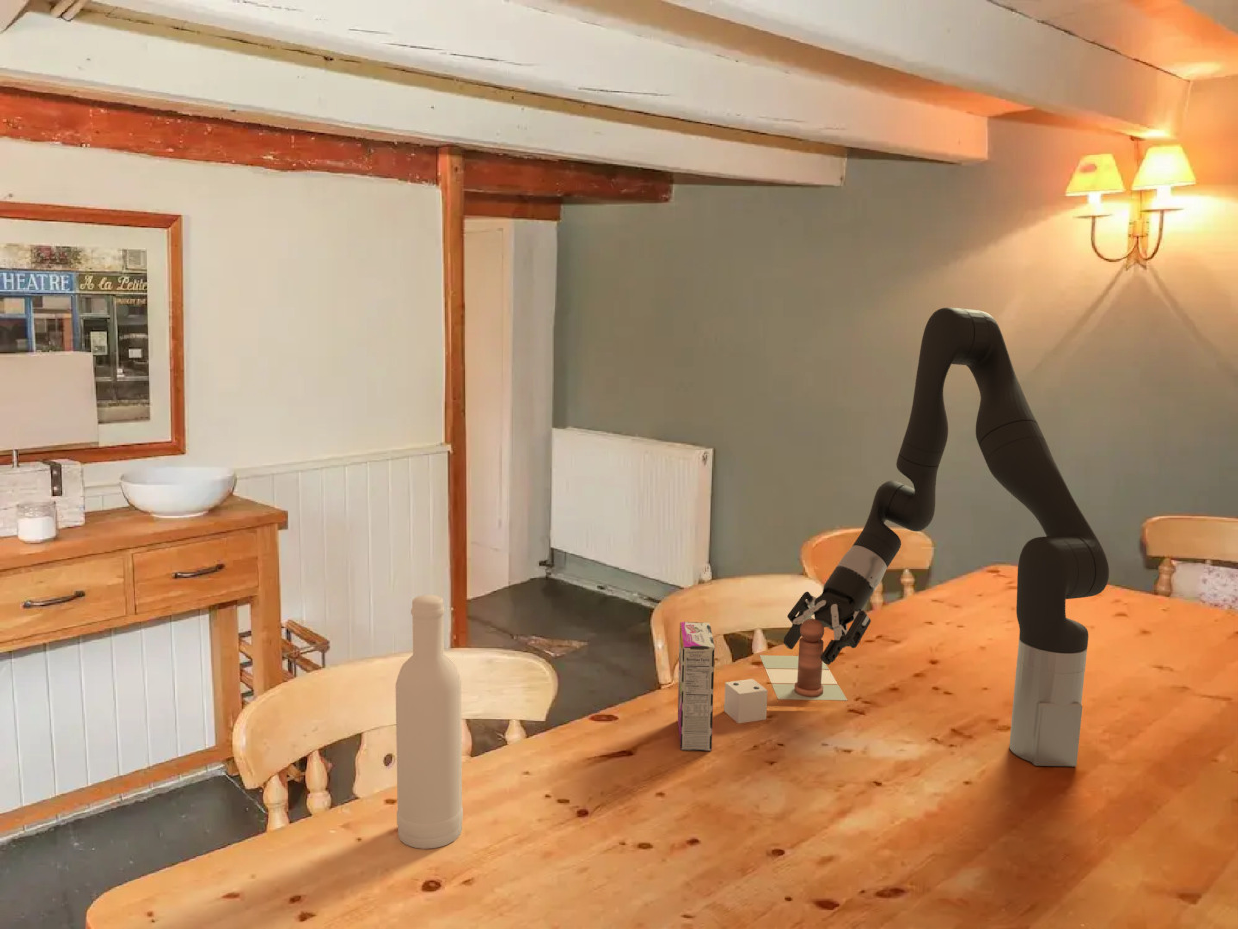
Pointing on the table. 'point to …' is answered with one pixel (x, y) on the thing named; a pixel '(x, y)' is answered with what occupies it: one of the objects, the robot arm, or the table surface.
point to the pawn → (810, 659)
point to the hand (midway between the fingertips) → (805, 654)
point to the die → (745, 701)
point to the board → (786, 673)
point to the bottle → (428, 735)
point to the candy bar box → (695, 686)
